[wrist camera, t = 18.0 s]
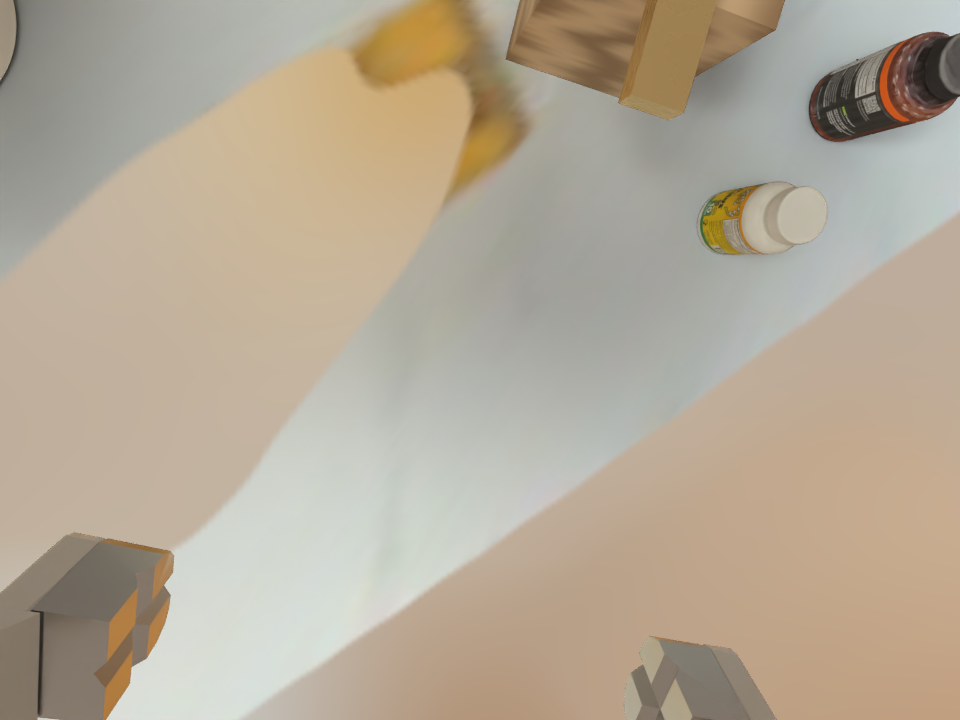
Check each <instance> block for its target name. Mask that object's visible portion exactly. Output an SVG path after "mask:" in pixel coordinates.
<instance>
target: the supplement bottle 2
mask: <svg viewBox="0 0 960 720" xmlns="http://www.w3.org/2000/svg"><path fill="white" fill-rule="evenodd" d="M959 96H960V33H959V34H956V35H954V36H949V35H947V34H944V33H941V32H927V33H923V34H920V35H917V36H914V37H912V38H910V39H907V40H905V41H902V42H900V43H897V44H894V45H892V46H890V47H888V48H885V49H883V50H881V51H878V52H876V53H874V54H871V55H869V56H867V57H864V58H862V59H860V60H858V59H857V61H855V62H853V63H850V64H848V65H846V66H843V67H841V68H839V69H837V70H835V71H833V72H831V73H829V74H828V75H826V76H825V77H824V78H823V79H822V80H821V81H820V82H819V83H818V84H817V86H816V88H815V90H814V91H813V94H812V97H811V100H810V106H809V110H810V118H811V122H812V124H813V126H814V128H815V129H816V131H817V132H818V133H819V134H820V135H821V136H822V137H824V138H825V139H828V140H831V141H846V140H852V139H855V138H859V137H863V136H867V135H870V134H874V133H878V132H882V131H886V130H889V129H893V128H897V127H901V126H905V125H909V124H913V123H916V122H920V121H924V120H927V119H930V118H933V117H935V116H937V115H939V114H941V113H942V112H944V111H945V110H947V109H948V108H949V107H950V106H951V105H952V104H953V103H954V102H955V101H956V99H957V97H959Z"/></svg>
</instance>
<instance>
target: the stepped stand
mask: <svg viewBox="0 0 960 720" xmlns="http://www.w3.org/2000/svg"><path fill="white" fill-rule="evenodd" d="M646 1H647V0H520V2H519V6H518V10H517V14H516V19H515V23H514V27H513V31H512V35H511V39H510V43H509V47H508V51H507V56H506V59H507V60H510V61H513V62H516V63H519V64H522V65H525V66H528V67H531V68H534V69H536V70H539V71H542V72H545V73H548V74H551V75H554V76H557V77H560V78H563V79H566V80H569V81H572V82H575V83H578V84H581V85H584V86H586V87H589V88H592V89H595V90H598V91H601V92H604V93H607V94H610V95H613V96H616V97H619V98H620V95H621V91H622V88H623V84H624V80H625V77H626V73H627V70H628V66H629V63H630V59H631V55H632V52H633V48H634V45H635V41H636V37H637V34H638V30H639V27H640V23H641V19H642V16H643V12H644V9H645V5H646ZM784 2H785V0H717V2H716V6H715V9H714V12H713V16H712V19H711V23H710V26H709V29H708V33H707V36H706V39H705V43H704V46H703V50H702V53H701V56H700V60H699V63H698V67H697V70H696V73H695V76H697V75H699V74H700V73H702V72H704V71H706V70H707V69H709V68H711V67H713V66H714V65H716V64H718V63H719V62H721V61H723V60H725V59H726V58H728V57H730V56H731V55H733V54H735V53H737V52H738V51H740V50H742V49H744V48H745V47H747V46H749V45H750V44H752V43H754V42H756V41H757V40H759V39H761V38H763V37H764V36H766V35H768V34H769V33H771V32H773V31H775V30H776V27H777V24H778V21H779V18H780V15H781V11H782V8H783V5H784Z"/></svg>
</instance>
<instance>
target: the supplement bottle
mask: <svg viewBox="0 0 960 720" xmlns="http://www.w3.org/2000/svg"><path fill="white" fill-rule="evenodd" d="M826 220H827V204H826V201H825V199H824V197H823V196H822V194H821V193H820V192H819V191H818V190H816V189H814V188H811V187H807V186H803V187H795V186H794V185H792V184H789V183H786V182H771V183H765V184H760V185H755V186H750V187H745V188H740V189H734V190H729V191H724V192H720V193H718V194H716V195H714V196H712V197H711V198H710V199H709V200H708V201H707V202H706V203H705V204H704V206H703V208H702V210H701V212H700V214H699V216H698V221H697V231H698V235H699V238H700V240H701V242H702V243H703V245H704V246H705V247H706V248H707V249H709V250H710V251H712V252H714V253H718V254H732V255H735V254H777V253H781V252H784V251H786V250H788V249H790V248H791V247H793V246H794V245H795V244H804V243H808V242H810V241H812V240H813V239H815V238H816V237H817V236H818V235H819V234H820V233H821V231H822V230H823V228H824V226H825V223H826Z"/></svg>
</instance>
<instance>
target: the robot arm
mask: <svg viewBox="0 0 960 720" xmlns="http://www.w3.org/2000/svg"><path fill="white" fill-rule="evenodd" d="M15 40H16V13H15V7H14V2H13V0H0V80H1V79H2V77H3V76H4V74H5V72H6V70H7V68H8V66H9V63H10V61H11V58H12V55H13V51H14V46H15ZM173 564H174V555H173V554H172V552H171V551H168V550H163V549H158V548H152V547H148V546H143V545H138V544H132V543H128V542H123V541H118V540H113V539H104V538H100V537H95V536H90V535H85V534H80V533H73V534H70V535H66V536H65V537H63V538H62V539H61V540H60V541H58V542H57V543H56V544H55V545H54V546H53V547H52V548H50V549H49V550H48V551H47V552H46V553H45V554H44V555H43V556H41V557H40V558H39V559H38V560H37V561H36V562H35V563H34V564H32V565H31V566H30V567H29V568H28V569H27V570H26V571H25V572H23V573H22V574H21V575H20V576H19V577H18V578H17V579H15V580H14V581H13V582H12V583H11V584H10V585H9V586H7V587H6V588H5V589H4V590H3V591H2V592H1V593H0V720H37V719H38V718H37V717H40V718H50V719H59V720H106V719H107V717H108V716H109V714H110V713H111V711H112V710H113V708H114V707H115V705H116V704H117V702H118V701H119V699H120V698H121V696H122V695H123V693H124V692H125V690H126V689H127V687H128V686H129V684H130V677H131V667H132V666H134V665H136V664H138V663H139V662H141V661H143V660H145V659H146V658H147V657H148V655H149V654H150V652H151V650H152V649H153V647H154V646H155V644H156V642H157V640H158V638H159V636H160V633H161V631H162V629H163V627H164V624H165V621H166V618H167V614H168V610H169V604H170V596H171V595H170V594H169V592H168V591H167V589H166V588H165V586H164V584H165V583H166V581H167V580H168V579H169V577H170V576H171V575H172V573H173ZM639 654H640V657H641V660H642V662H643V665H641V666H640V667H638V668H637V669H635V670H634V671H633V672H631V674H630V676H629V679H628V682H627V684H626V687H625V698H624V710H625V718H626V720H777V719H776V718H775V716H774V714H773V712H772V711H771V709H770V708H769V706H768V704H767V702H766V701H765V699H764V698H763V696H762V694H761V693H760V691H759V689H758V688H757V686H756V684H755V683H754V681H753V679H752V678H751V676H750V674H749V673H748V671H747V670H746V668H745V666H744V665H743V663H742V661H741V660H740V658H739V657H738V655H737V654H736V653H735V652H734V651H733V650H731V649H730V648H724V647H717V646H710V645H699V644H694V643H689V642H682V641H676V640H671V639H665V638H658V637H653V636H649V637H648V638H647V639H646V640H645V642H644V643H643V645H642V647H641V650H640V652H639Z"/></svg>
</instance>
